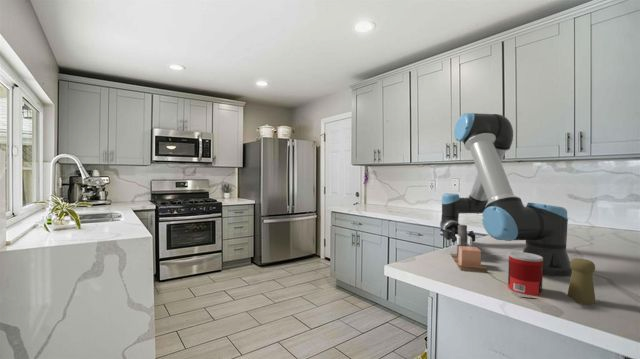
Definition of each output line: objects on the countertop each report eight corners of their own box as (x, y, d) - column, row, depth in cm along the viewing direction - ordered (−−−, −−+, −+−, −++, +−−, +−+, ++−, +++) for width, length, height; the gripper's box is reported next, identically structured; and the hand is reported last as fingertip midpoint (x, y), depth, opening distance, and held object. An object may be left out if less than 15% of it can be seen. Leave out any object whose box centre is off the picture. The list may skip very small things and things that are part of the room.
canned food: (547, 301, 82) (549, 260, 82) (514, 298, 84) (515, 258, 84) (533, 290, 90) (535, 252, 89) (503, 287, 91) (504, 250, 91)
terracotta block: (458, 262, 112) (458, 245, 112) (476, 263, 111) (476, 247, 111) (461, 267, 107) (462, 249, 106) (480, 268, 105) (481, 251, 105)
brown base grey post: (449, 256, 124) (450, 223, 124) (471, 258, 122) (472, 225, 122) (460, 274, 103) (461, 234, 103) (487, 276, 101) (488, 236, 101)
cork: (560, 295, 86) (562, 256, 86) (581, 295, 87) (582, 256, 86) (581, 305, 80) (582, 263, 80) (602, 304, 81) (604, 262, 80)
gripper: (472, 239, 137) (488, 253, 114) (434, 237, 141) (441, 249, 118) (473, 222, 137) (489, 233, 114) (434, 220, 140) (442, 230, 118)
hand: (465, 241), depth 116 cm, fingers closed on brown base grey post, 3 cm apart
